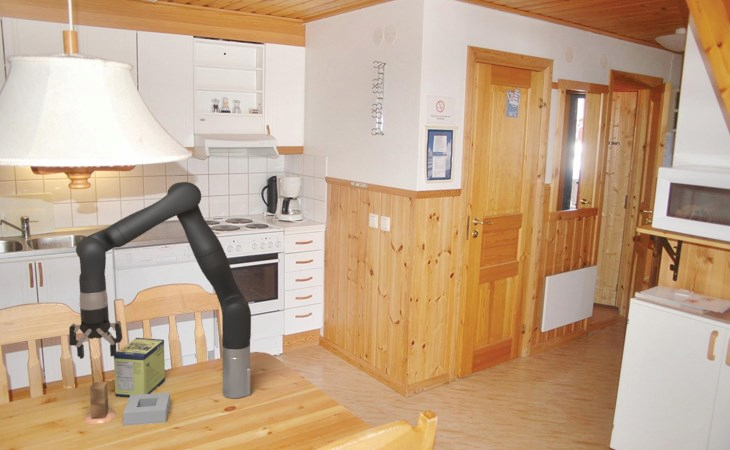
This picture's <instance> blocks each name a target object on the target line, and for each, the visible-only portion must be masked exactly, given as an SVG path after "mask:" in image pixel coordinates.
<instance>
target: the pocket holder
mask: <svg viewBox="0 0 730 450" xmlns="http://www.w3.org/2000/svg"><path fill="white" fill-rule="evenodd" d="M170 407H171V392H158V393H157V392H156V393H155V392H154V393H150V394H139V395H130V397H129V398H128V399H127V403H126V406H125V408H124V410H123V411H122V412H123V413H122V415H123V416H122V417H123V419H122V420H123V426H125V427H126V426H137V425H149V424H150V425H151V424H164V423H166V422H167V419H168V415H169V412H170Z"/></svg>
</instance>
